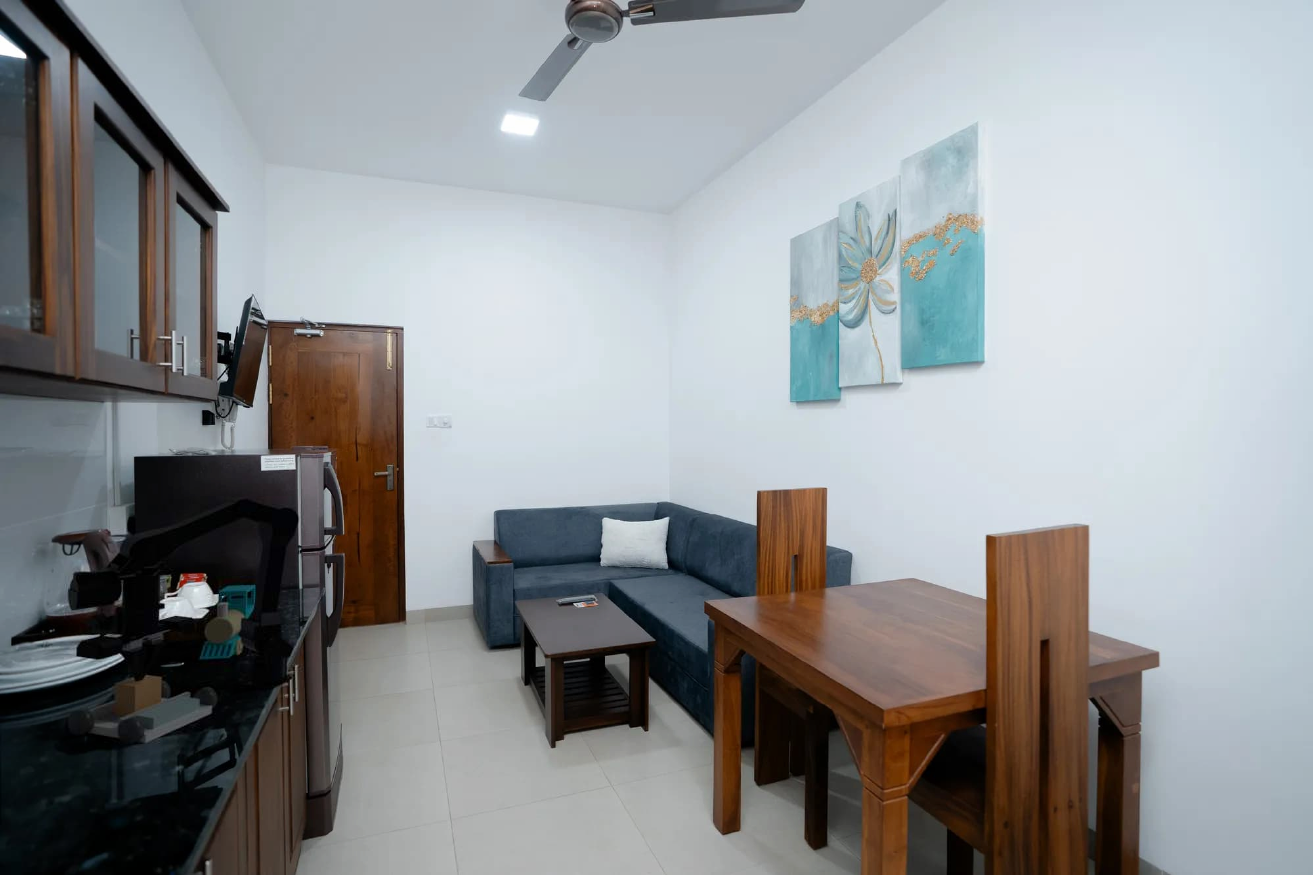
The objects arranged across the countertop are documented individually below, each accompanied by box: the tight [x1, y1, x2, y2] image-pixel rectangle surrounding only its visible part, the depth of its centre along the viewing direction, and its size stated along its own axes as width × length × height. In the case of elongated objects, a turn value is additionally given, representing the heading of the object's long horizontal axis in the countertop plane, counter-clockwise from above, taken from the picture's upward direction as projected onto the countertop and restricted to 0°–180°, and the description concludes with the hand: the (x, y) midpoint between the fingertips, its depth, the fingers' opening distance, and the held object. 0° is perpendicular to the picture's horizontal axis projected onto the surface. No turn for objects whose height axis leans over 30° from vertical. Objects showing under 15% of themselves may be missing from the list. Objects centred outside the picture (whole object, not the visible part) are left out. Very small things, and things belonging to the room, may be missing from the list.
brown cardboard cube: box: [114, 674, 162, 716], centre depth 124 cm, size 5×5×6 cm
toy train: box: [199, 584, 256, 660], centre depth 164 cm, size 8×17×15 cm, turn 14°
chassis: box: [67, 680, 218, 746], centre depth 123 cm, size 16×17×4 cm
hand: (138, 680), depth 124 cm, fingers closed, pressing on brown cardboard cube
